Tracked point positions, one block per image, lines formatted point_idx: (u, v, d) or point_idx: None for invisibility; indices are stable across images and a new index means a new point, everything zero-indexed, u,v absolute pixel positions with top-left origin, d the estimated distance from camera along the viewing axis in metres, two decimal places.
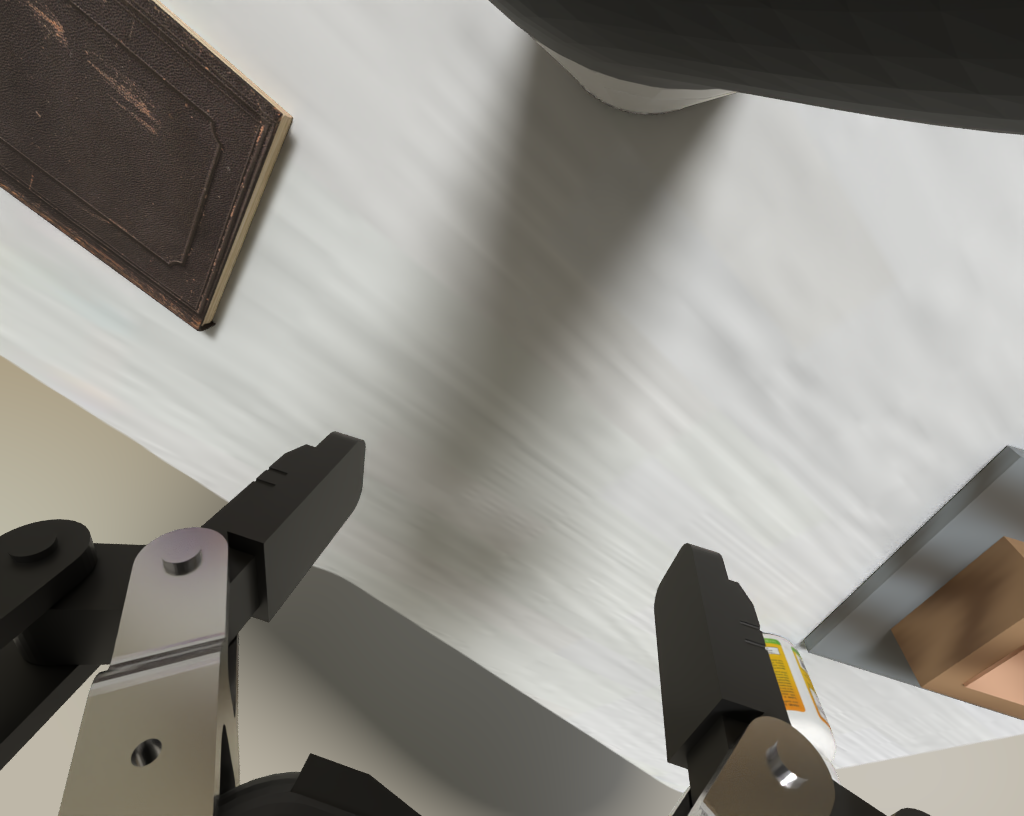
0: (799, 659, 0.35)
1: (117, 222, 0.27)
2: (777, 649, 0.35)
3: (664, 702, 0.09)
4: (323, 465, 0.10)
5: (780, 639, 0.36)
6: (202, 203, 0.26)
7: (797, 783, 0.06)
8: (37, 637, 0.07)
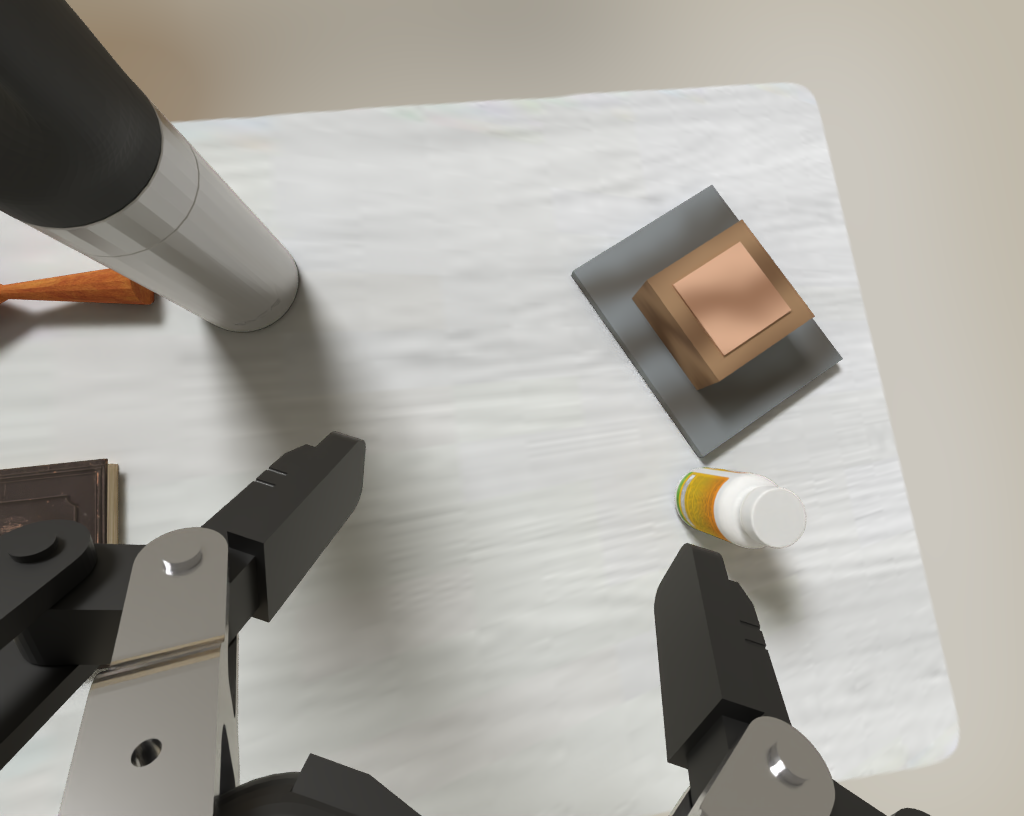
0: (712, 468, 0.38)
1: None
2: (693, 475, 0.38)
3: (664, 702, 0.09)
4: (323, 465, 0.10)
5: (692, 470, 0.39)
6: None
7: (797, 783, 0.06)
8: (37, 637, 0.07)
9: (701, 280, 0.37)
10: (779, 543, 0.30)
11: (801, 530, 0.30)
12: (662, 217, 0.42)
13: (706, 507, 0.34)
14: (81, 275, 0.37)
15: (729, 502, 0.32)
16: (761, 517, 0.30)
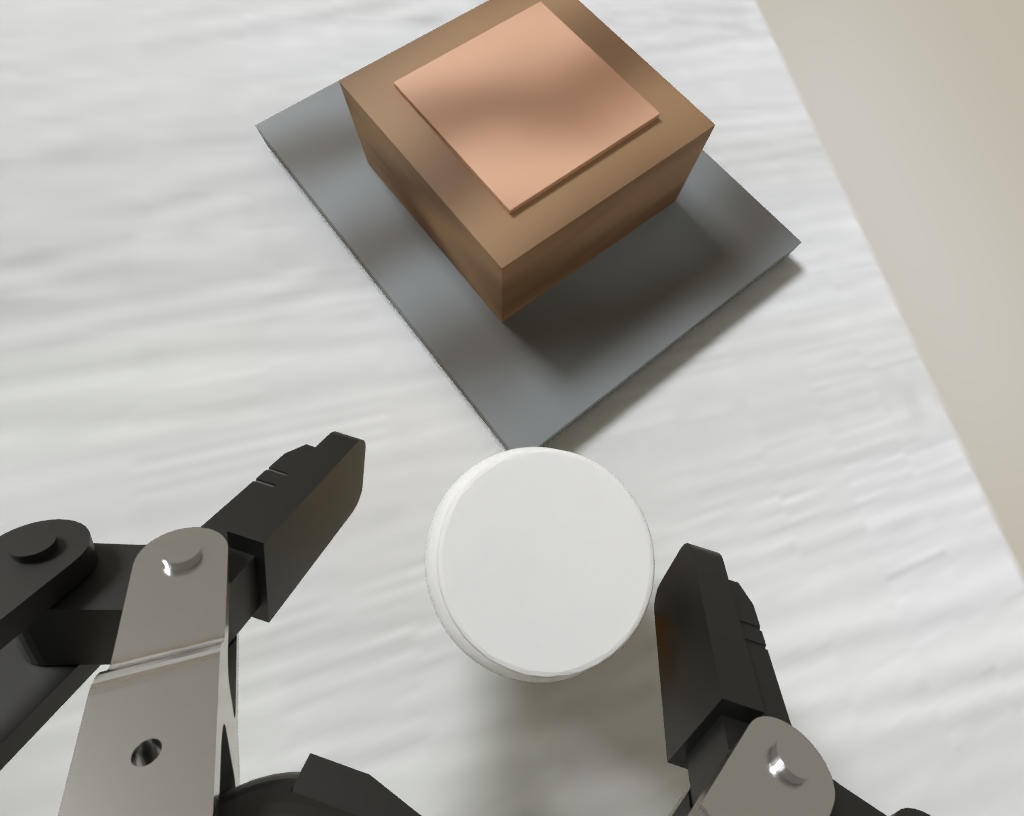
0: None
1: None
2: None
3: (664, 703, 0.09)
4: (323, 465, 0.10)
5: None
6: None
7: (797, 783, 0.06)
8: (37, 637, 0.07)
9: (457, 71, 0.17)
10: (513, 649, 0.08)
11: (617, 633, 0.08)
12: None
13: None
14: None
15: None
16: (480, 527, 0.08)
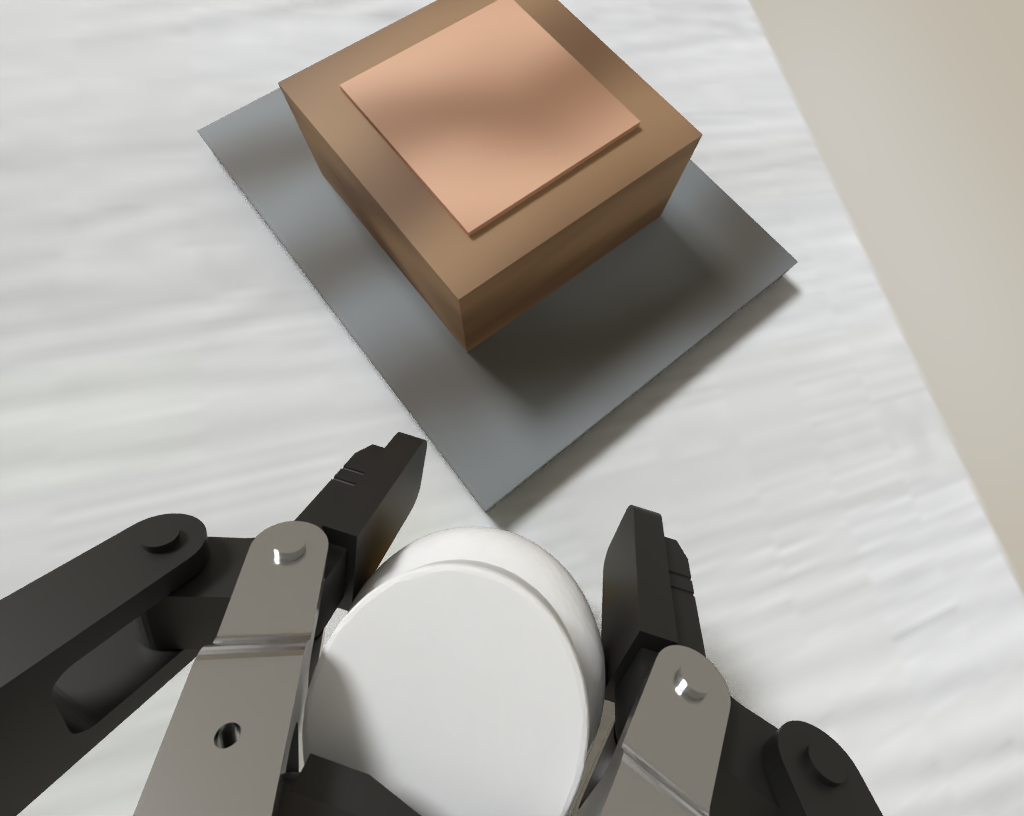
0: None
1: None
2: None
3: None
4: (396, 464, 0.10)
5: None
6: None
7: (695, 697, 0.07)
8: (149, 622, 0.07)
9: (412, 73, 0.15)
10: None
11: None
12: None
13: None
14: None
15: None
16: (361, 675, 0.06)
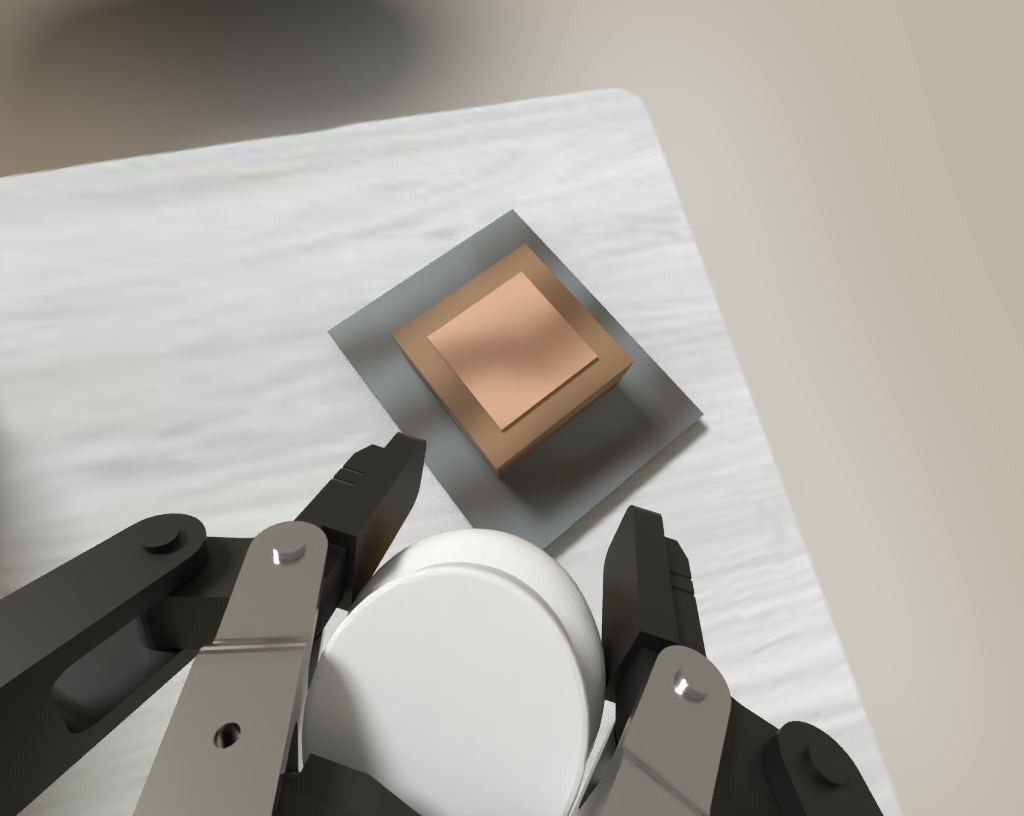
0: None
1: None
2: None
3: (602, 647, 0.10)
4: (395, 464, 0.10)
5: None
6: None
7: (696, 697, 0.07)
8: (148, 622, 0.07)
9: (467, 327, 0.27)
10: None
11: None
12: (448, 254, 0.33)
13: None
14: None
15: None
16: (361, 678, 0.06)
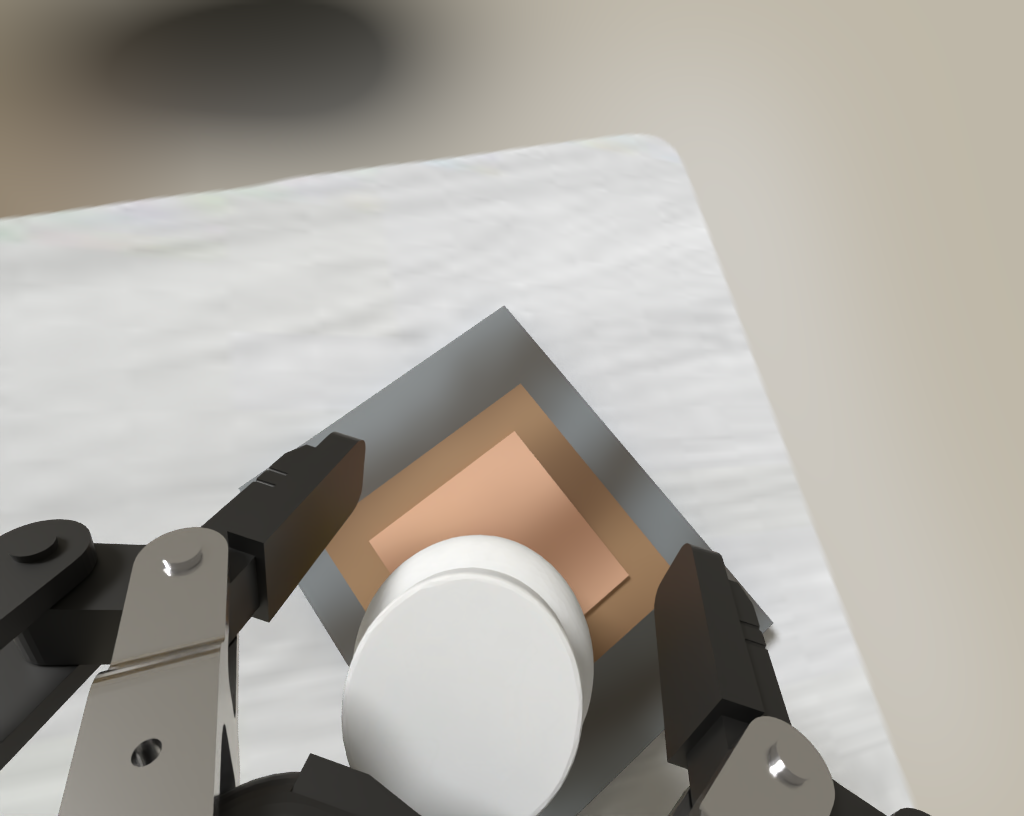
0: None
1: None
2: None
3: (664, 702, 0.09)
4: (323, 465, 0.10)
5: None
6: None
7: (797, 783, 0.06)
8: (37, 637, 0.07)
9: (431, 525, 0.18)
10: None
11: (537, 797, 0.07)
12: (414, 371, 0.24)
13: None
14: None
15: (392, 595, 0.10)
16: (391, 668, 0.08)
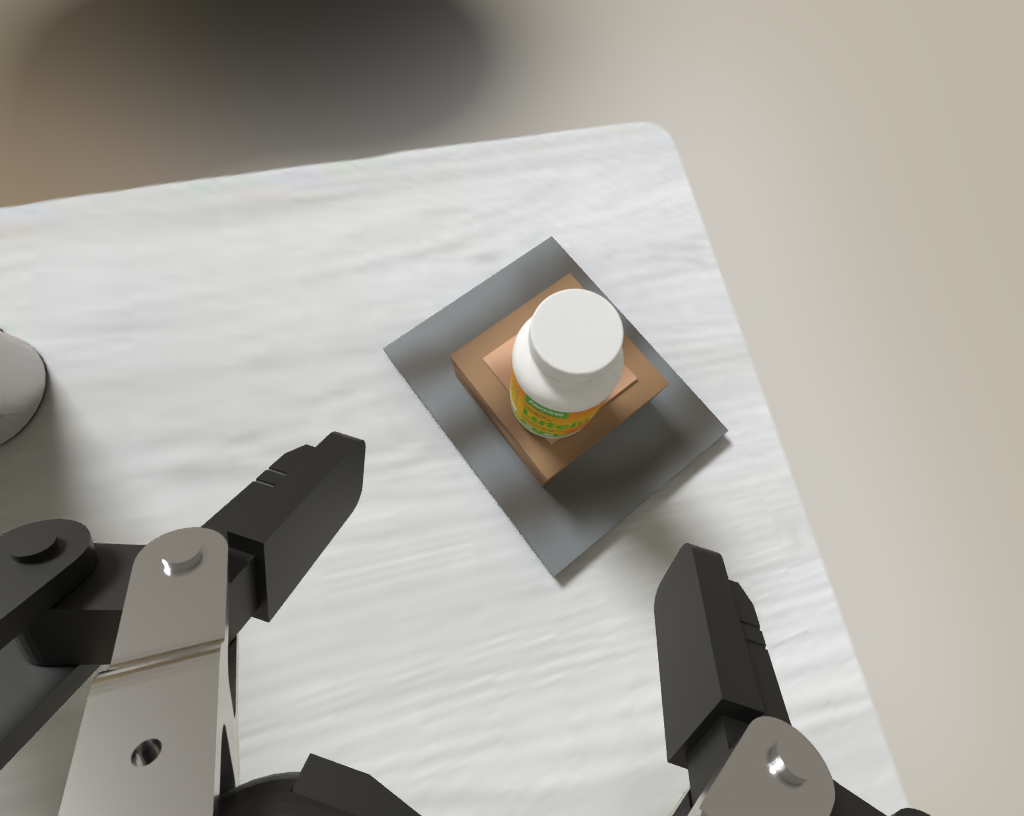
0: None
1: None
2: None
3: (664, 703, 0.09)
4: (323, 465, 0.10)
5: None
6: None
7: (797, 783, 0.06)
8: (37, 637, 0.07)
9: None
10: (563, 363, 0.19)
11: (606, 359, 0.19)
12: (492, 277, 0.35)
13: None
14: None
15: None
16: (548, 318, 0.19)
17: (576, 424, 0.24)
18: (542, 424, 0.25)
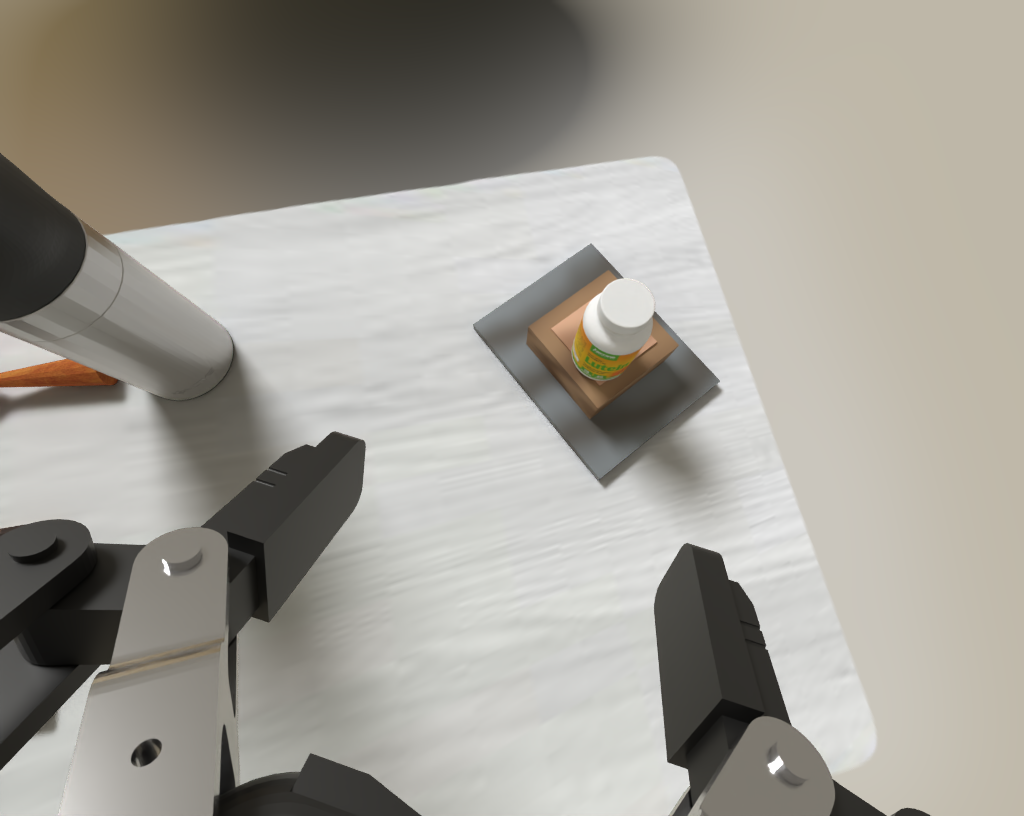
0: None
1: None
2: None
3: (664, 703, 0.09)
4: (323, 465, 0.10)
5: None
6: None
7: (797, 783, 0.06)
8: (37, 637, 0.07)
9: (575, 323, 0.43)
10: (620, 321, 0.32)
11: (645, 319, 0.32)
12: (549, 273, 0.49)
13: None
14: (53, 363, 0.43)
15: (596, 300, 0.35)
16: (611, 296, 0.33)
17: (620, 367, 0.38)
18: (598, 367, 0.38)
